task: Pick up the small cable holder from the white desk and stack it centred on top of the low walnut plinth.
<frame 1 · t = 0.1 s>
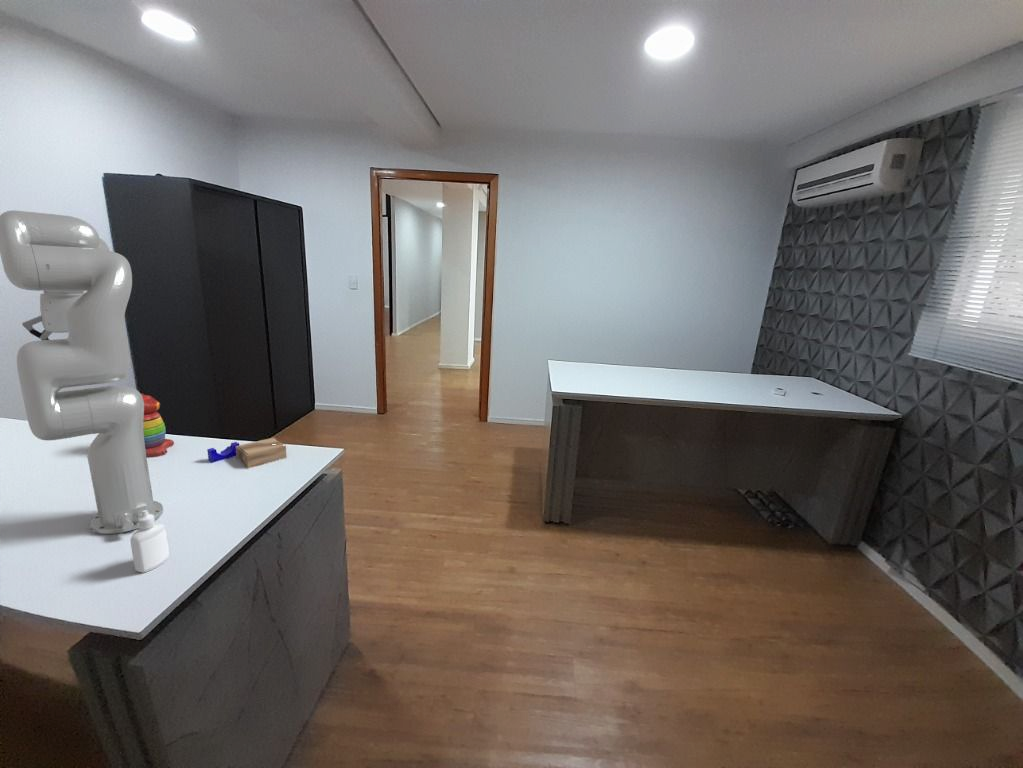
hand: (75, 351, 119), 31 cm above the table, tool pointing down, fingers open, 9 cm apart
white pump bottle: (153, 564, 87), on the table
cable holder: (223, 458, 133), on the table
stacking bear: (150, 451, 133), on the table
plinth: (261, 458, 134), on the table
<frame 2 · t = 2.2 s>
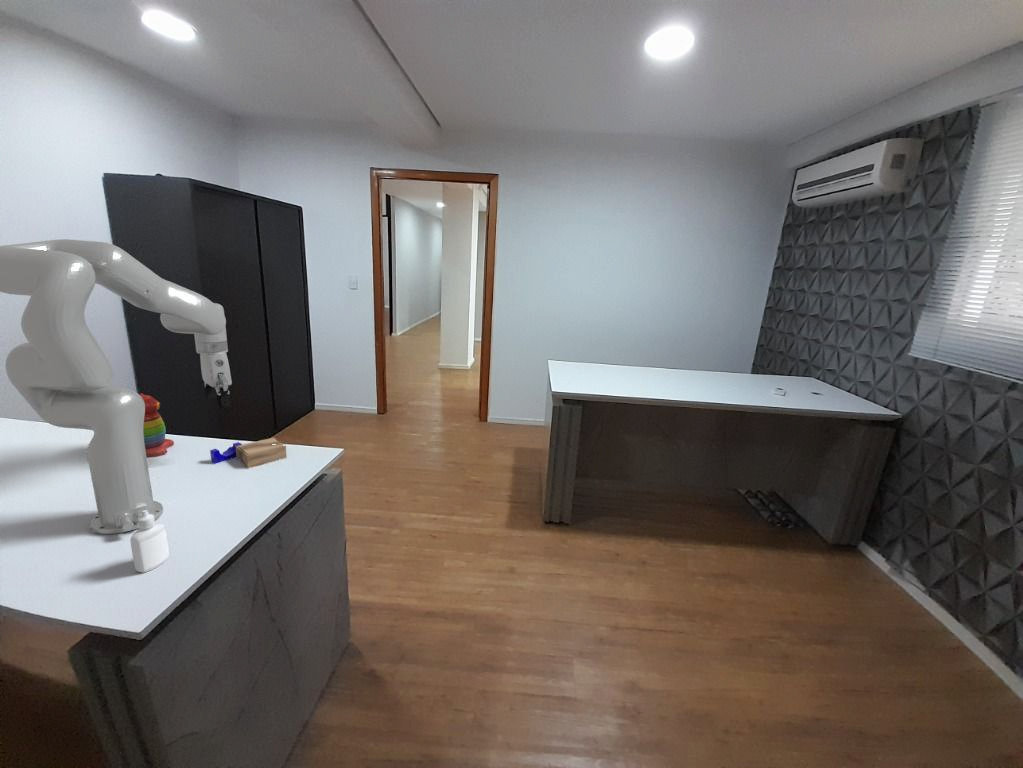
hand: (218, 403, 129), 17 cm above the table, tool pointing down, fingers open, 9 cm apart
cable holder: (226, 458, 132), on the table
everything else where it was.
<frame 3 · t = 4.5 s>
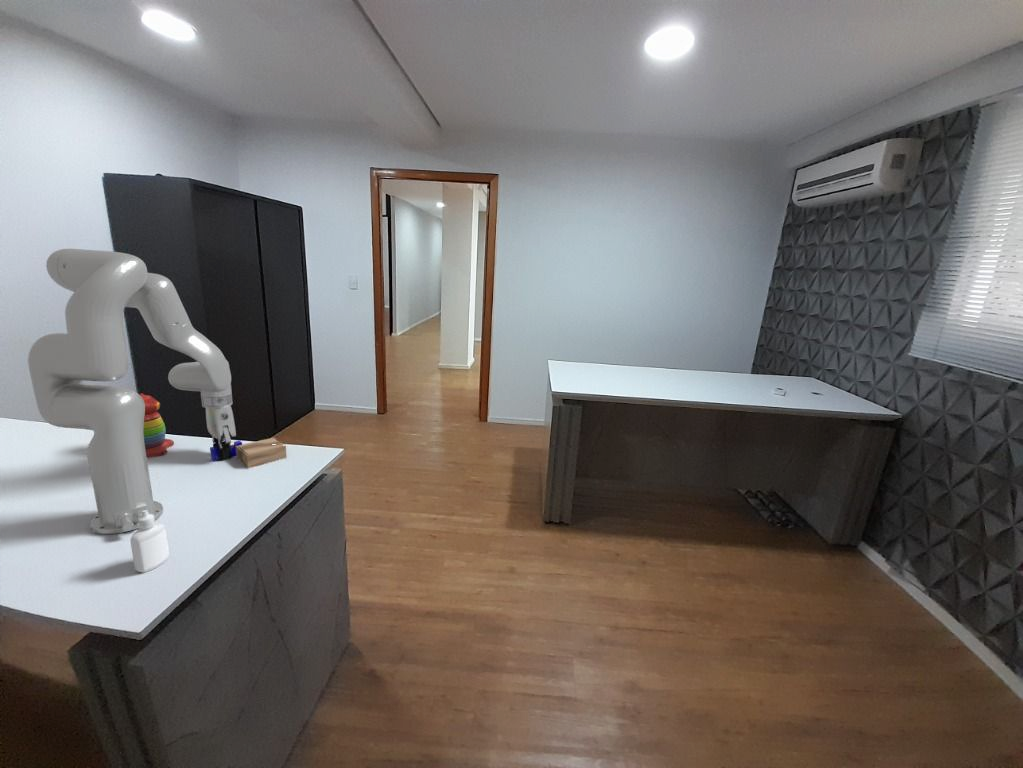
hand: (222, 456, 133), 0 cm above the table, tool pointing down, fingers closed on cable holder, 3 cm apart
cable holder: (226, 456, 133), on the table, touching gripper
everything else where it was.
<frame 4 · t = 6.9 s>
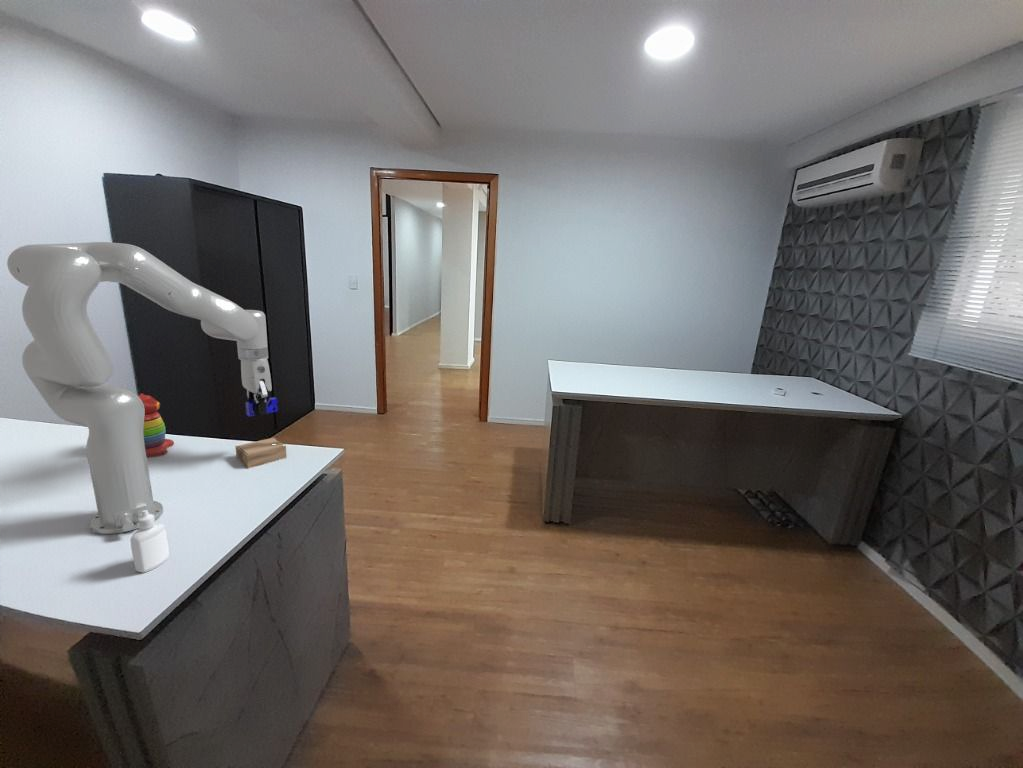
hand: (257, 412, 130), 15 cm above the table, tool pointing down, fingers closed on cable holder, 3 cm apart
cable holder: (261, 413, 131), point 15 cm above the table, touching gripper
everything else where it was.
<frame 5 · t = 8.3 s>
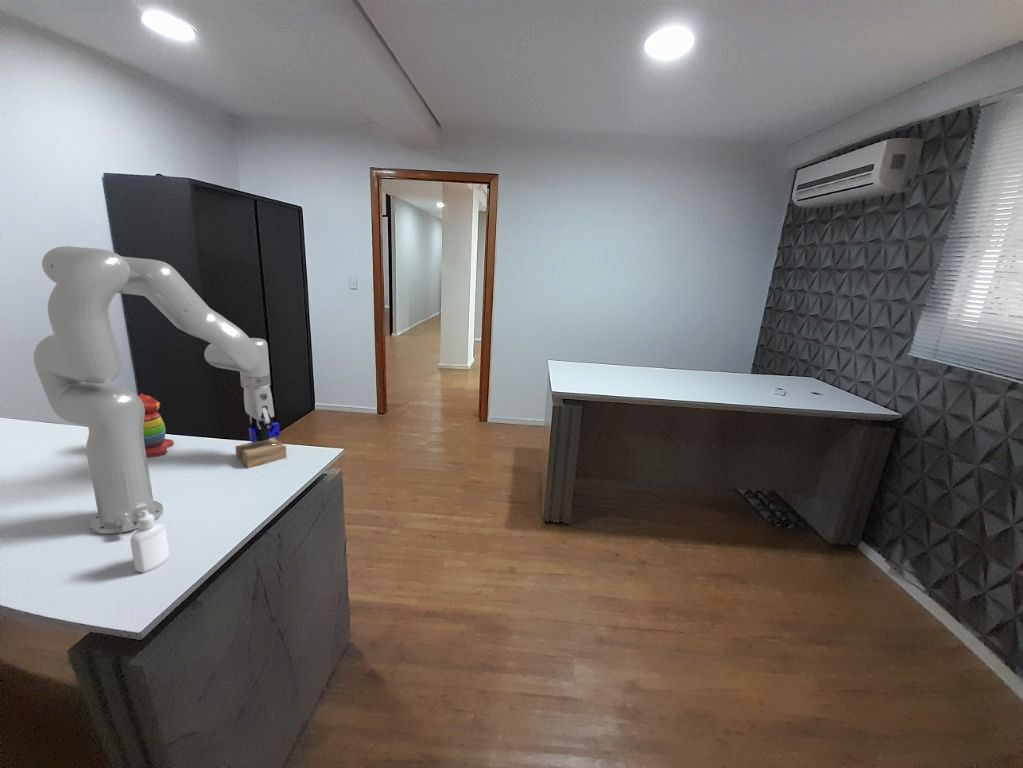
hand: (260, 437, 132), 7 cm above the table, tool pointing down, fingers closed on cable holder, 3 cm apart
cable holder: (264, 437, 133), point 6 cm above the table, touching gripper
everything else where it was.
when the fingers open (5 cm above the table, at t = 9.3 s): cable holder stays where it is, resting on plinth.
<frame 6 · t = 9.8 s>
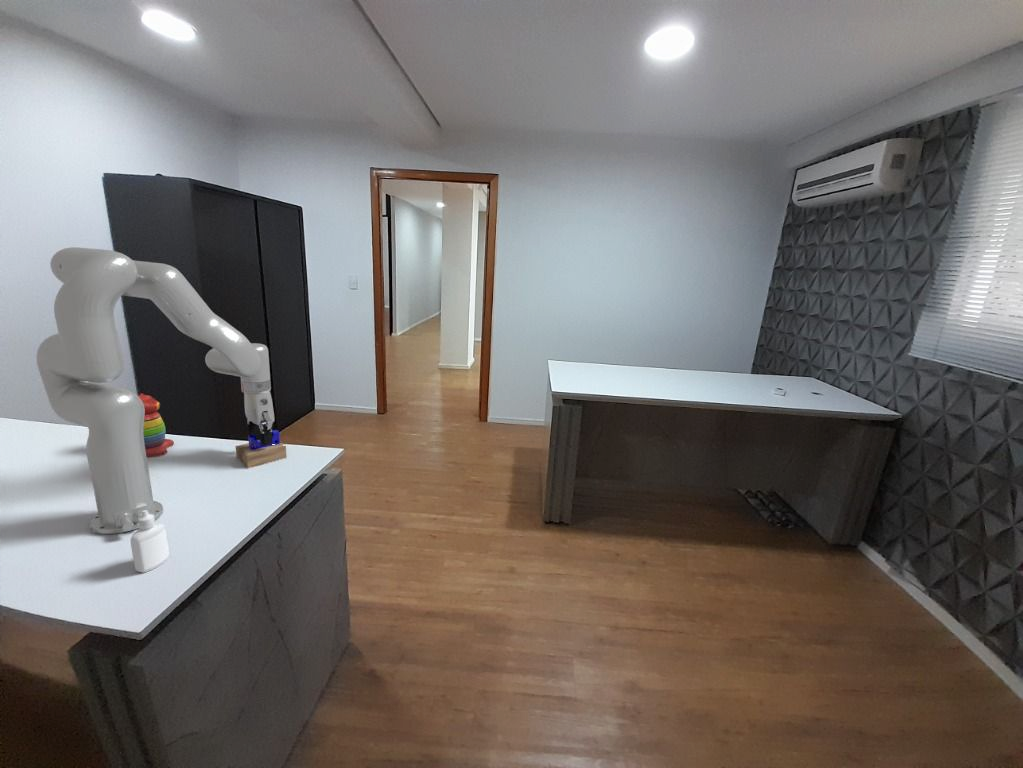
hand: (260, 439, 132), 6 cm above the table, tool pointing down, fingers open, 8 cm apart
cable holder: (263, 445, 133), point 4 cm above the table, touching plinth
everything else where it was.
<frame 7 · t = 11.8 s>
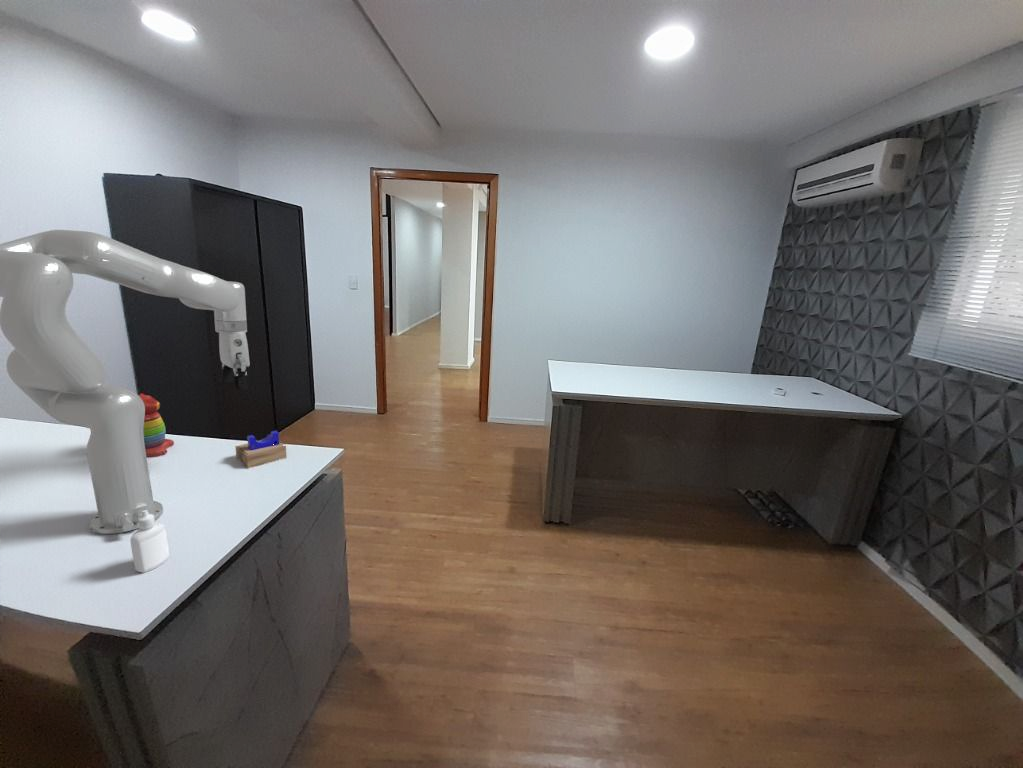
hand: (235, 385, 125), 24 cm above the table, tool pointing down, fingers open, 9 cm apart
nothing on the table moved.
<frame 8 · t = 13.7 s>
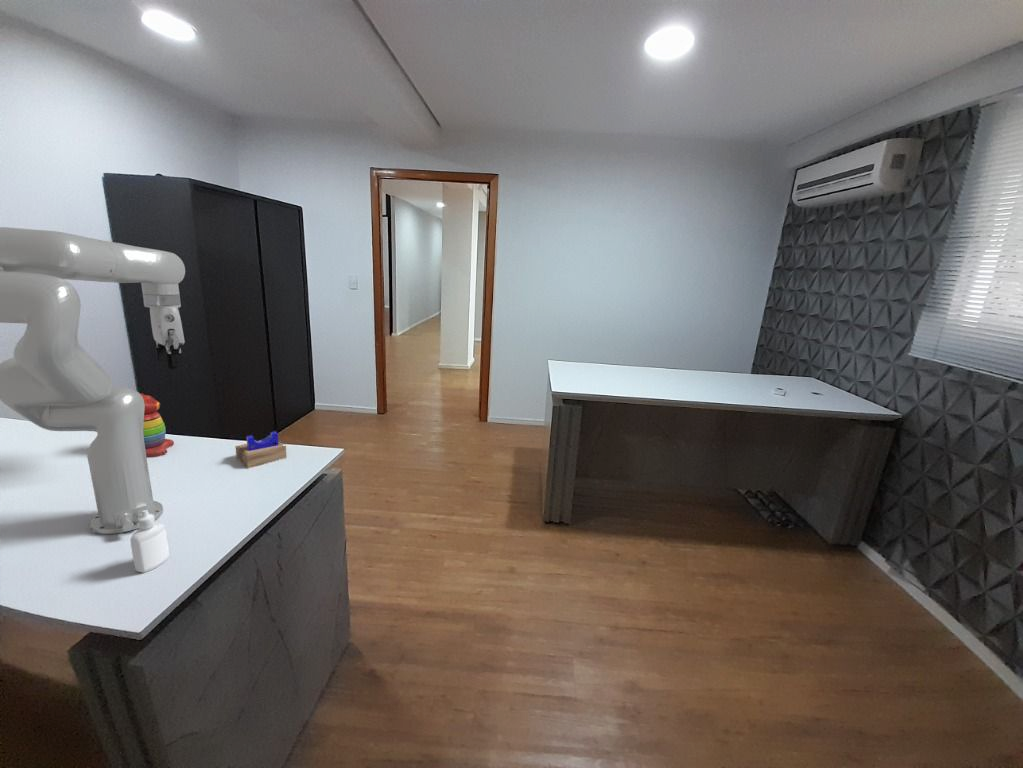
hand: (170, 364, 117), 30 cm above the table, tool pointing down, fingers open, 9 cm apart
nothing on the table moved.
at the end: cable holder inside the target area on the plinth (0.7 cm from its centre), point 4.0 cm above the plinth's base; cable holder tilted 0°; the gripper is holding nothing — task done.
